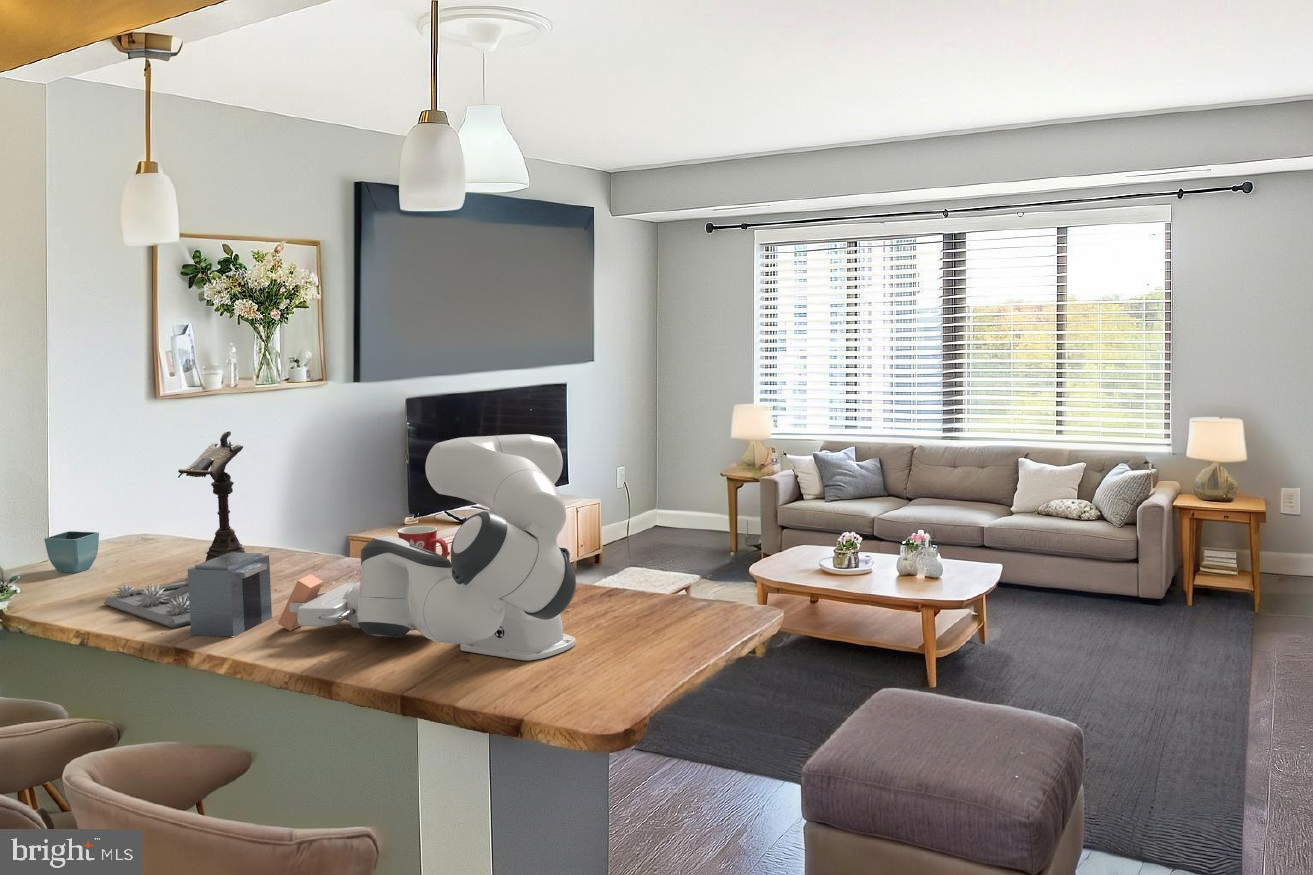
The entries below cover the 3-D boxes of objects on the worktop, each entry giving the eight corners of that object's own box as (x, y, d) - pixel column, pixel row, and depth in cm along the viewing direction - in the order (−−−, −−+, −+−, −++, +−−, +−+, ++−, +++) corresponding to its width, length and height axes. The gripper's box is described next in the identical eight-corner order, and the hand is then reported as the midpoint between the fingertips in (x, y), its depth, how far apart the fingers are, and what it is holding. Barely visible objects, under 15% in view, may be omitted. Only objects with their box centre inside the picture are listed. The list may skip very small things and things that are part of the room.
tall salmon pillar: (303, 623, 211) (323, 581, 210) (290, 630, 206) (310, 587, 205) (290, 616, 212) (310, 574, 210) (277, 623, 207) (297, 580, 205)
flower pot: (78, 575, 255) (75, 538, 254) (45, 574, 256) (42, 538, 255) (102, 567, 263) (100, 531, 263) (70, 566, 265) (68, 531, 264)
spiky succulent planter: (269, 609, 226) (268, 576, 225) (170, 632, 209) (168, 597, 208) (197, 588, 244) (196, 557, 243) (101, 608, 227) (99, 575, 227)
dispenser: (277, 617, 217) (274, 552, 216) (239, 637, 203) (235, 568, 202) (231, 615, 219) (228, 550, 217) (191, 634, 205) (187, 566, 204)
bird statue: (209, 586, 243) (201, 435, 239) (172, 580, 249) (164, 433, 246) (267, 572, 257) (261, 429, 253) (231, 566, 264) (224, 426, 260)
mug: (390, 589, 240) (388, 530, 238) (418, 580, 248) (416, 524, 246) (432, 596, 234) (430, 536, 232) (459, 587, 241) (458, 529, 240)
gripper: (340, 636, 196) (272, 632, 198) (388, 607, 216) (325, 604, 218) (339, 603, 195) (270, 600, 198) (387, 577, 215) (324, 574, 218)
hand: (299, 602), depth 208 cm, fingers closed on tall salmon pillar, 5 cm apart
